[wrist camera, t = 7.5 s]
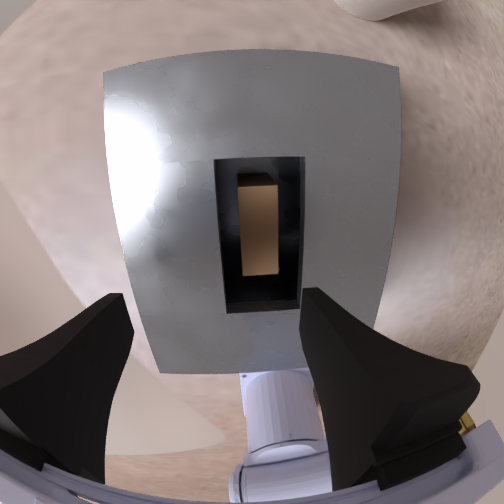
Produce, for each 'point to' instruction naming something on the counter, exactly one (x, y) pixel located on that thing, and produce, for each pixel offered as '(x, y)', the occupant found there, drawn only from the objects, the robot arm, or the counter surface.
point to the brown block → (258, 223)
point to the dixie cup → (380, 7)
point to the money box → (226, 196)
